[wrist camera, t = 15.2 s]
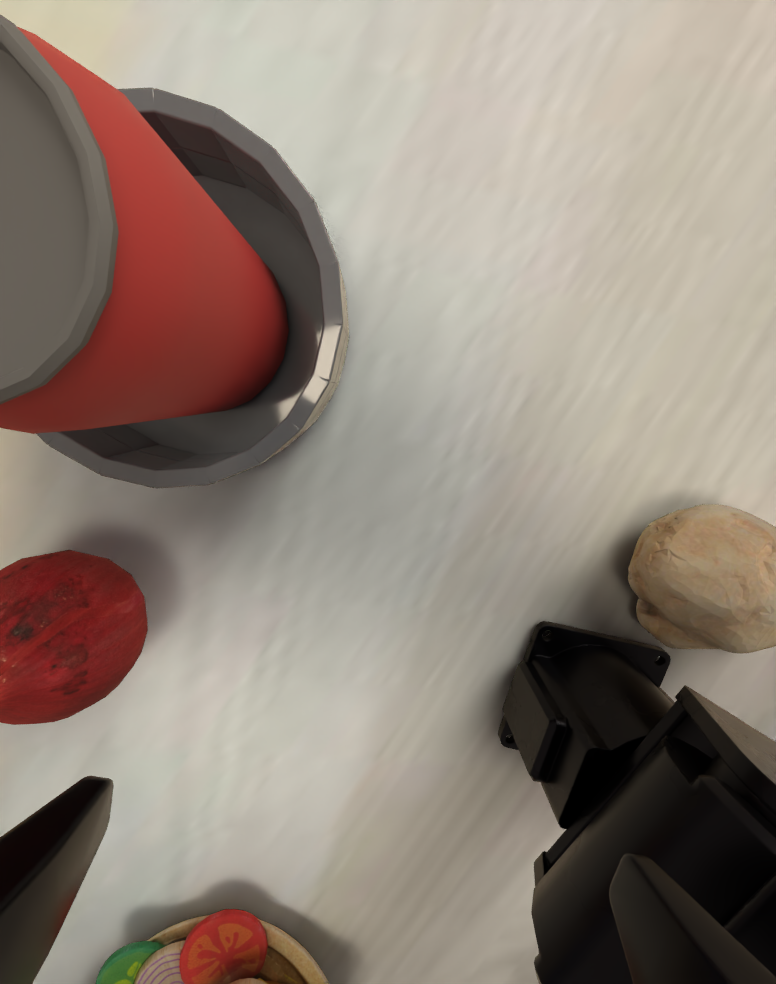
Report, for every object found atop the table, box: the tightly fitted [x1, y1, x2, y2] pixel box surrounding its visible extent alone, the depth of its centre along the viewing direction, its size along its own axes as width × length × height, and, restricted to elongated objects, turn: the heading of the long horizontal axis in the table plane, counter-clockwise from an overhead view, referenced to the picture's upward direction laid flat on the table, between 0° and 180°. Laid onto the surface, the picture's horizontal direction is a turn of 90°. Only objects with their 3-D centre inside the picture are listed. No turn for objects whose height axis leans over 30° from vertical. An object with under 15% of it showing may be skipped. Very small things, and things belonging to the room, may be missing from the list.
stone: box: [628, 504, 776, 653], centre depth 20 cm, size 7×6×8 cm
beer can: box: [0, 15, 289, 434], centre depth 12 cm, size 7×7×12 cm
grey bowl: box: [36, 88, 349, 488], centre depth 16 cm, size 11×11×4 cm
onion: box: [0, 550, 148, 725], centre depth 17 cm, size 6×6×8 cm
